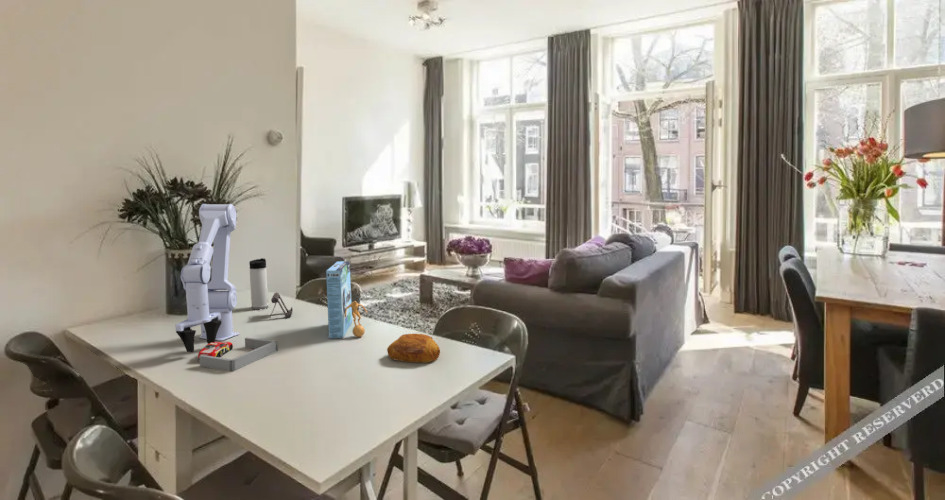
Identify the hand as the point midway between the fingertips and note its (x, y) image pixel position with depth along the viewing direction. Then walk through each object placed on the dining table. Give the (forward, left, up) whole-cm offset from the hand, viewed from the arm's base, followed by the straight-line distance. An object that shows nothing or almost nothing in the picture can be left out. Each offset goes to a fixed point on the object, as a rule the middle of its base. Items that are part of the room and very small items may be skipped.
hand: (200, 347), depth 152 cm
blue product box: (+27, +34, -2) cm, 43 cm away
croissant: (+62, +19, -2) cm, 65 cm away
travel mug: (-21, +49, -2) cm, 53 cm away
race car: (+6, 0, -2) cm, 6 cm away
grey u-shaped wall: (+15, 0, -1) cm, 15 cm away
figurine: (+36, +30, -2) cm, 47 cm away
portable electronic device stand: (-5, +42, -2) cm, 42 cm away
